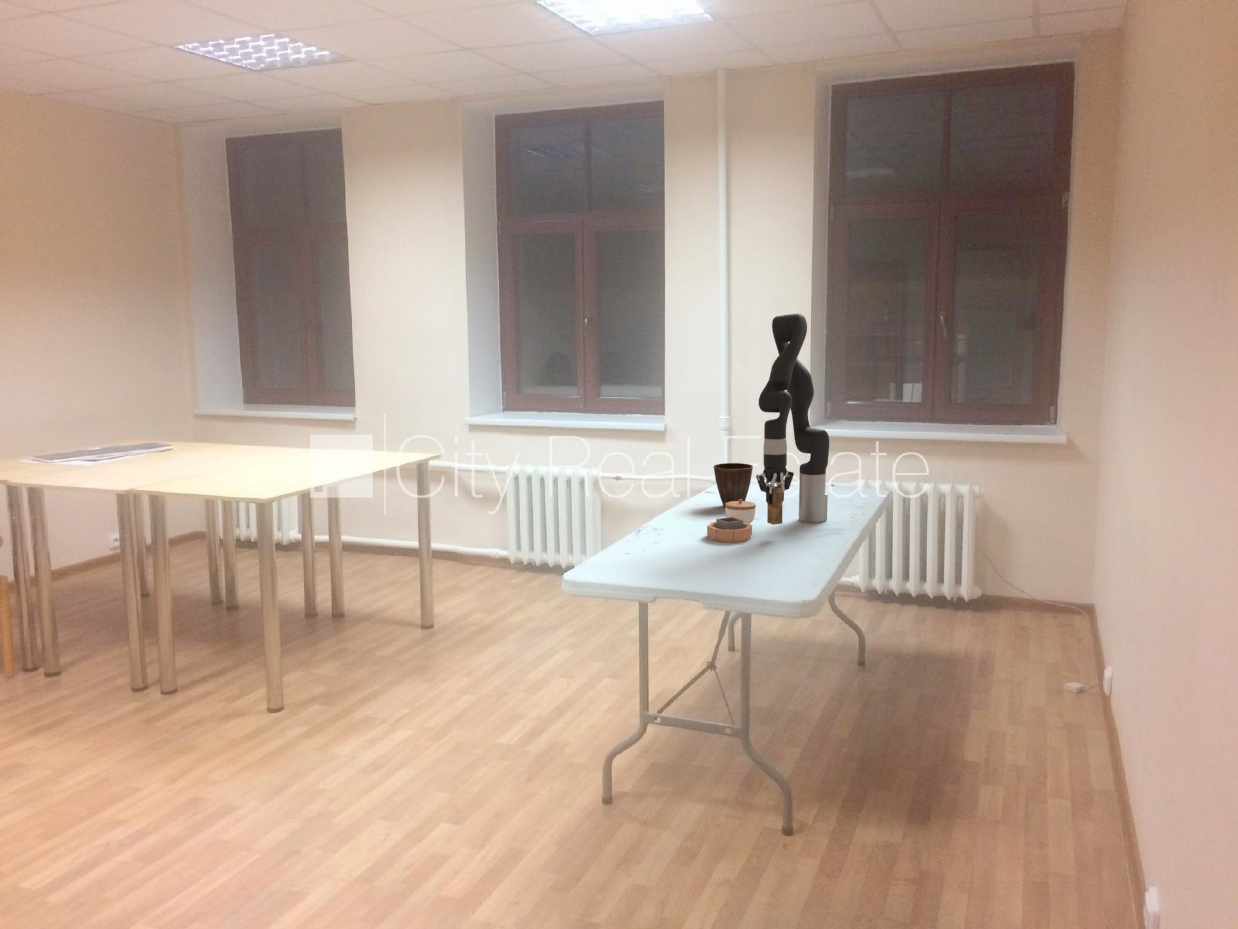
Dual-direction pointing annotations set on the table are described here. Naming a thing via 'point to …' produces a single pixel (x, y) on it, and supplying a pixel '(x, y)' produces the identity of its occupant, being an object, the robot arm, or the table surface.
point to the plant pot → (733, 481)
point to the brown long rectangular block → (775, 507)
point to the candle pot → (729, 530)
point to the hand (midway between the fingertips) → (774, 503)
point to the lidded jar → (741, 510)
